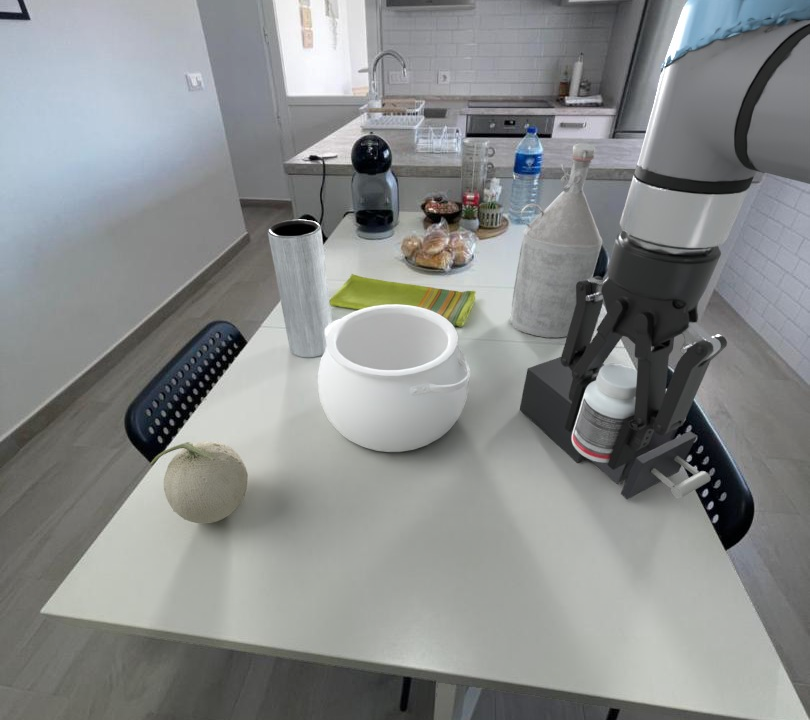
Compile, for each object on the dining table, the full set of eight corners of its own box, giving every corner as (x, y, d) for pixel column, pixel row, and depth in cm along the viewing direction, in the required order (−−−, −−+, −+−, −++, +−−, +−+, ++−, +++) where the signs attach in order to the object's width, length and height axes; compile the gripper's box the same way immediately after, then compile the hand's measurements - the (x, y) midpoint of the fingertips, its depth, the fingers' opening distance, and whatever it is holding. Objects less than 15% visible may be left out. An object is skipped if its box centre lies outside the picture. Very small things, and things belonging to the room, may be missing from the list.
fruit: (186, 481, 70) (153, 410, 61) (260, 476, 70) (239, 405, 62) (161, 542, 61) (120, 469, 53) (246, 536, 62) (219, 463, 53)
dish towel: (463, 329, 106) (464, 318, 104) (327, 307, 115) (326, 296, 114) (476, 300, 118) (477, 289, 116) (352, 282, 127) (351, 271, 125)
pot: (288, 417, 82) (272, 342, 72) (380, 351, 99) (377, 283, 89) (414, 494, 68) (414, 414, 58) (496, 402, 85) (507, 328, 75)
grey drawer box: (631, 437, 77) (649, 394, 71) (577, 463, 72) (591, 419, 67) (570, 389, 88) (581, 349, 82) (519, 409, 83) (527, 368, 77)
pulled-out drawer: (709, 495, 66) (731, 459, 61) (656, 526, 62) (675, 490, 57) (610, 418, 79) (622, 384, 75) (561, 440, 75) (571, 405, 71)
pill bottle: (625, 469, 46) (656, 397, 40) (571, 458, 47) (593, 387, 42) (619, 432, 50) (646, 363, 45) (569, 424, 52) (589, 355, 46)
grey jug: (505, 309, 114) (529, 137, 91) (576, 314, 111) (619, 139, 88) (505, 335, 104) (532, 150, 81) (583, 342, 101) (633, 152, 78)
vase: (299, 363, 95) (278, 241, 80) (283, 342, 102) (260, 225, 86) (342, 349, 100) (329, 230, 84) (323, 329, 106) (308, 216, 91)
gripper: (828, 271, 30) (697, 491, 44) (609, 200, 43) (561, 386, 57) (763, 295, 27) (645, 523, 41) (550, 212, 40) (515, 404, 54)
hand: (596, 443), depth 49 cm, fingers closed on pill bottle, 5 cm apart
